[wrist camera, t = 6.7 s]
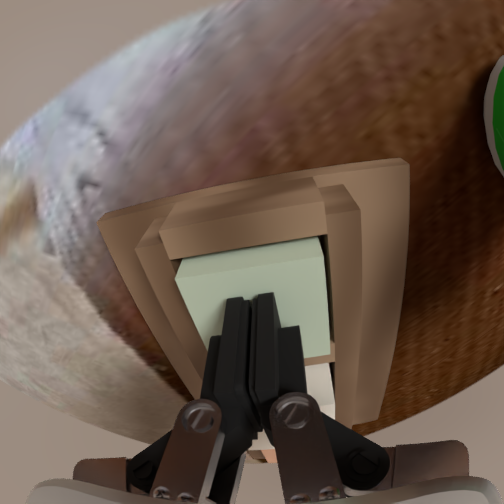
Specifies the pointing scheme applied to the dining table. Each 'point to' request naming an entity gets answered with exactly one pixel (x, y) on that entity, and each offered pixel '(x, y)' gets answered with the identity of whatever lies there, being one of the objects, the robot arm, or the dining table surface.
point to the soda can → (495, 114)
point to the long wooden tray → (275, 230)
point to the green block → (261, 287)
